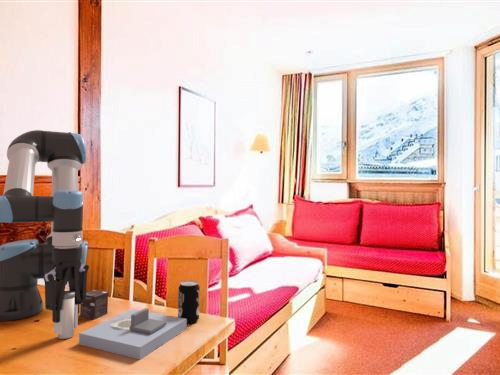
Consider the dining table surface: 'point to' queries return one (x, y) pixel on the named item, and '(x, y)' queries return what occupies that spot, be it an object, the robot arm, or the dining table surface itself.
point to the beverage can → (188, 301)
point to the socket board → (131, 335)
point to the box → (94, 304)
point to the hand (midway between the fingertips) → (65, 329)
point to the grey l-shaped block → (145, 322)
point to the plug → (68, 314)
